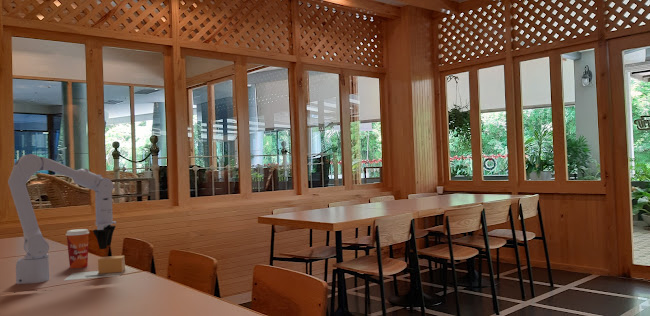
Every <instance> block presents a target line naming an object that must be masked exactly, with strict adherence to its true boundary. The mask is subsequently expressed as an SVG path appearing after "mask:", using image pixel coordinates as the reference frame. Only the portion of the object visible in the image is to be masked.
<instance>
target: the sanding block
mask: <svg viewBox="0 0 650 316" xmlns="http://www.w3.org/2000/svg"><path fill="white" fill-rule="evenodd" d="M125 259H126V258H125V255H111V256H101V257H99V258H98V259H97V268H98V270H97V271H98V274H100V273H114V272H123V271H124V272H125V271H126V261H125ZM124 272H123V273H124Z"/></svg>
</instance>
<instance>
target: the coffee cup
mask: <svg viewBox="0 0 650 316" xmlns="http://www.w3.org/2000/svg"><path fill="white" fill-rule="evenodd" d="M89 234H90V231H89V229H87V228H78V229H70V230H67V231H66V233H65V236H66V242H67V253H68V262H69V268H70V269H81V268H86V267H88V264H89V262H88V261H89Z"/></svg>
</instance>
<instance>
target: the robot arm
mask: <svg viewBox="0 0 650 316" xmlns="http://www.w3.org/2000/svg"><path fill="white" fill-rule="evenodd" d="M40 171H51V172H53V173H57V174H59V175H61V176H62V175H63V176H65V177H68V178H70V179H72V181H73V183H74V184H76V185H78V186H81V187H84V188H86V189H89V190H90V191H91V190H93V191H94V193H95V194H94V195H95V197H94V203H95V205H94V206H95V223H94V224H95V226H96V229H93V230H92V232H93V234H94V236H95V237H96V240H97V245H98V247H99V250H106V249H107V247H108V246H111V244H112V240H113V234H114V231H115V229H116V224H117V221H115V220H114V217H113V194H112V192H113V190H114V188H115V185H114V184H113V181H112V180H111V179H110V178H108V177H102V176H103V175H101V174H100V173H98V174H96V173H94V172H92V171H90V169H88V168H79V169H77V170H76V169H74V168H72V167H69V166H67V165H65V164H62V163H60V162H58V161H56V160H53V159H50V158H49V157H48V158H47V157H44V156H39V155H37V154H34V153H29V154H25V155H22V156H20V157H19V158H18V159H17V160H16V161H15V163H14V164H13V167H12V170H11V173H10V175H9V177H8V180H7V184H8V188H9V190H10V193H11V197H12V200H13V203H14V207H15V210H16V212H17V216H18V220H19V223H20V226H21V228H22V232H23V238H24V242H23V243H24V244H23V249H24V251H25V252H26V254H25V256H24V258H19V259H17V261H16V264H15V277H16V278H15V281H16V285H21V284H37V283H38V284H39V283H43V282H44V283H45V282H47V281H50V262H49V254H48V252H49V251H50V245H49V242H47V241H46V240H45V238H44V236H43V234H42V232H41V229H40V227H39V223H38V220H37V217H36V213H35V211H34V207H33V204H32V201H31V197H30V194H29V191H28V188H27V183H28V181H29V180H31V177H33V176H34V175H35V174H37V172H40ZM113 220H114V221H113ZM113 224H115V225H113Z"/></svg>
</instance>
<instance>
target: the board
mask: <svg viewBox="0 0 650 316" xmlns="http://www.w3.org/2000/svg"><path fill="white" fill-rule="evenodd" d="M124 272H125V270H124V271H123V272H114V273H100V274H98V270H95V271H79V272H72V273H71V274H69V275H68V276H67V277H65V278H64V279H63V281H72V280H74V281H75V280H87V279H99V278H111V277H112V278H114V277H121V275H122V274H123V273H124Z"/></svg>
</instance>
